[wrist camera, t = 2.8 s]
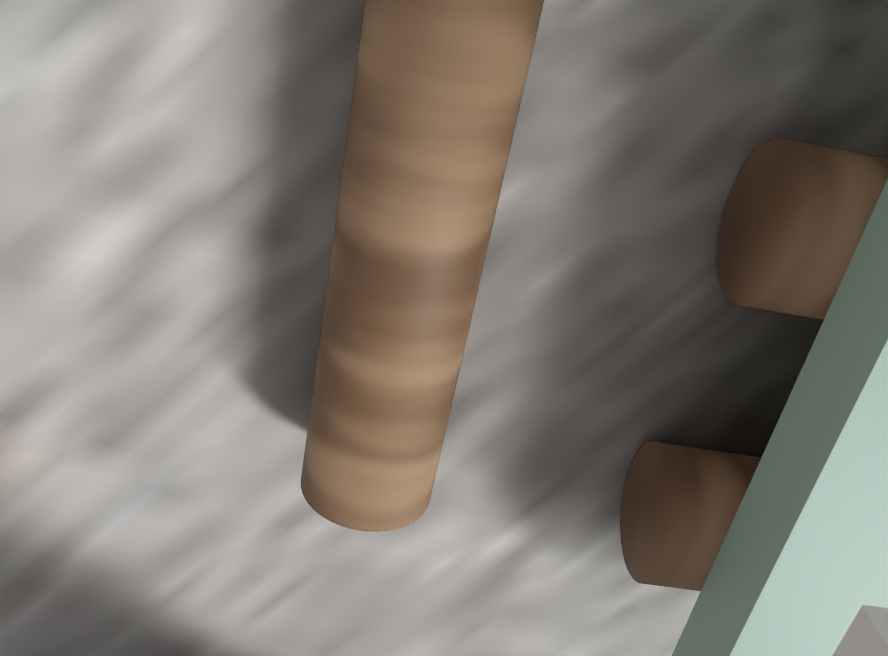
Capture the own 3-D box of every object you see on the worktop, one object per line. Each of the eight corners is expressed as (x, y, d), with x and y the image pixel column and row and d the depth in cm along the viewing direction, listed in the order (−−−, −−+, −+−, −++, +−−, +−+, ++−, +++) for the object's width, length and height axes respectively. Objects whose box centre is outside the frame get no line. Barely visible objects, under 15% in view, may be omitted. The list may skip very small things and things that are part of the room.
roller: (424, 452, 34) (436, 536, 29) (303, 441, 33) (297, 526, 28) (554, -147, 24) (602, -157, 19) (386, -187, 23) (397, -205, 19)
